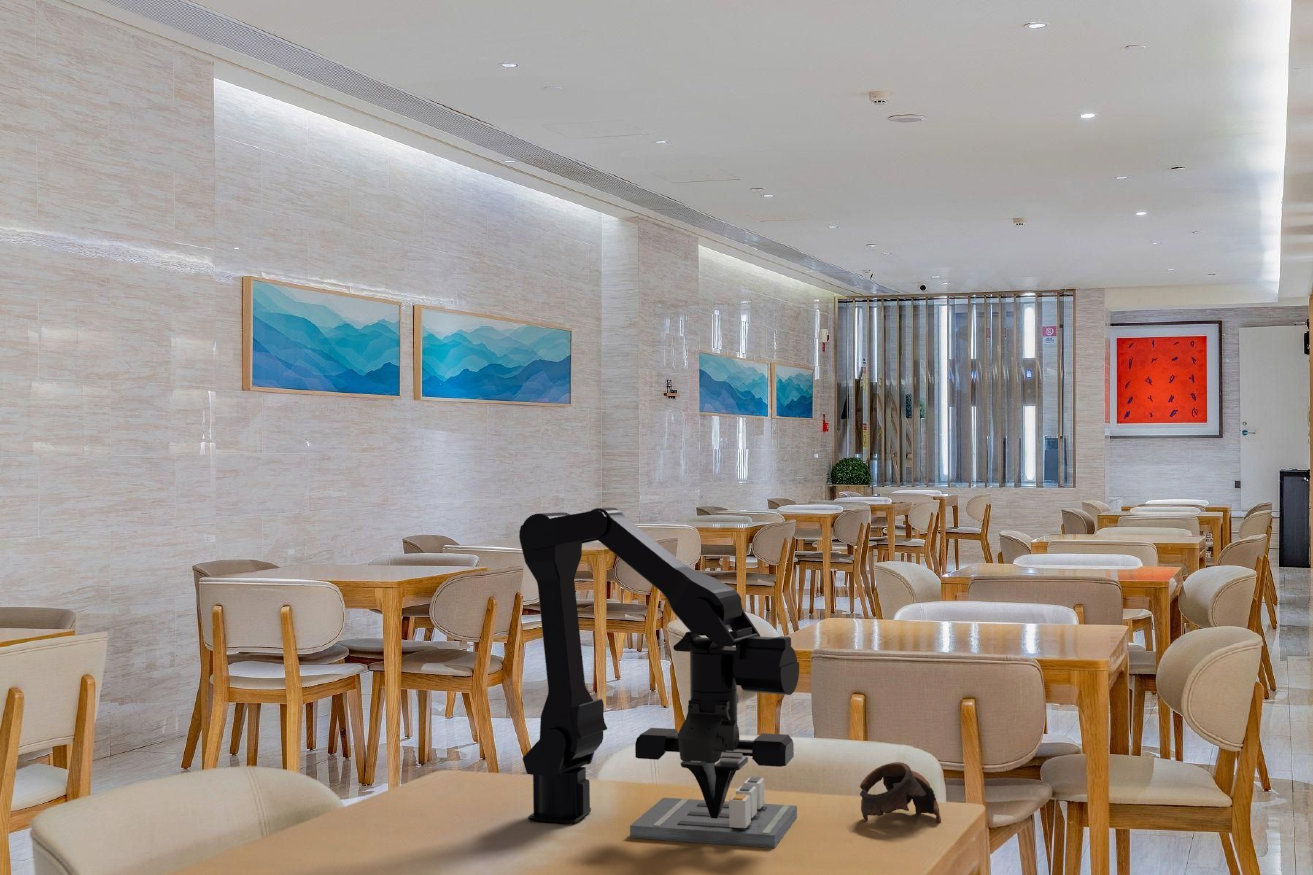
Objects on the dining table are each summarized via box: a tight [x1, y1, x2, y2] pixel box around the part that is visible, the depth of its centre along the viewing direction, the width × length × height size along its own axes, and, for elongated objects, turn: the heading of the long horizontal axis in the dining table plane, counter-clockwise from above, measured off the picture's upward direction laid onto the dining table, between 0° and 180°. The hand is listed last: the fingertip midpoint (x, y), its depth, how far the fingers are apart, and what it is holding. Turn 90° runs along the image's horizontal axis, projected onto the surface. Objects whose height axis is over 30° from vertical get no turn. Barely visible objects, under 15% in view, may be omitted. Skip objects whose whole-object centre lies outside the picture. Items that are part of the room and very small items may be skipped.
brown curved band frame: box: [859, 761, 942, 825], centre depth 161 cm, size 12×10×8 cm
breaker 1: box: [743, 776, 766, 809], centre depth 161 cm, size 2×3×3 cm
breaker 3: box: [728, 793, 751, 828], centre depth 153 cm, size 2×3×3 cm
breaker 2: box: [735, 784, 757, 818], centre depth 157 cm, size 2×3×3 cm
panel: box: [629, 797, 798, 849], centre depth 158 cm, size 18×14×2 cm
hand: (715, 817), depth 154 cm, fingers closed
